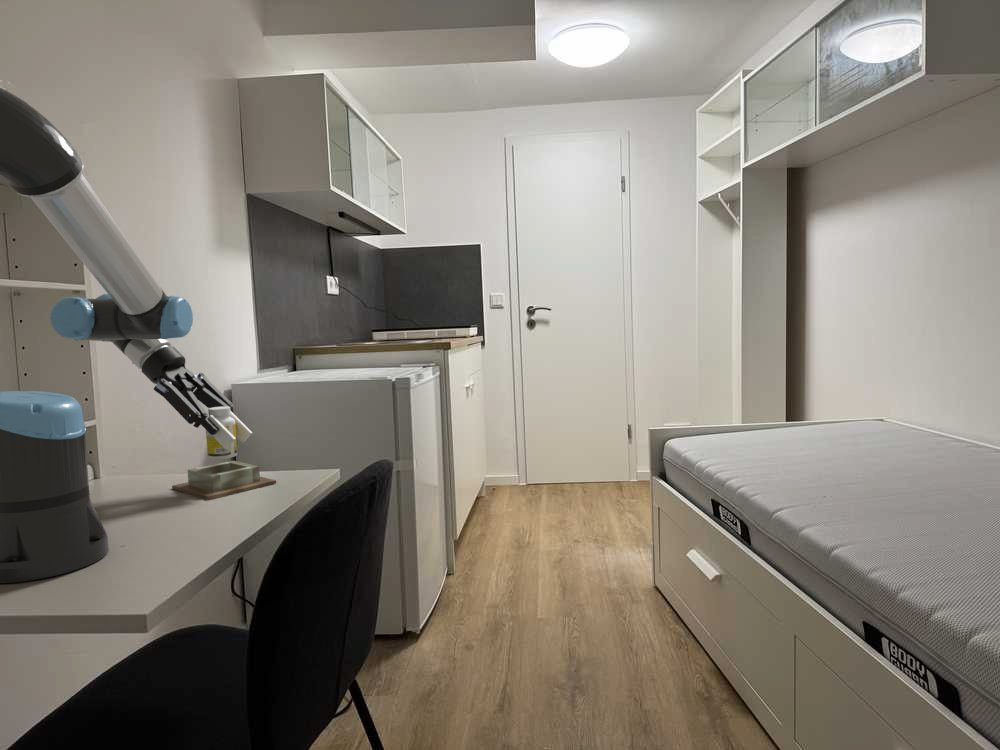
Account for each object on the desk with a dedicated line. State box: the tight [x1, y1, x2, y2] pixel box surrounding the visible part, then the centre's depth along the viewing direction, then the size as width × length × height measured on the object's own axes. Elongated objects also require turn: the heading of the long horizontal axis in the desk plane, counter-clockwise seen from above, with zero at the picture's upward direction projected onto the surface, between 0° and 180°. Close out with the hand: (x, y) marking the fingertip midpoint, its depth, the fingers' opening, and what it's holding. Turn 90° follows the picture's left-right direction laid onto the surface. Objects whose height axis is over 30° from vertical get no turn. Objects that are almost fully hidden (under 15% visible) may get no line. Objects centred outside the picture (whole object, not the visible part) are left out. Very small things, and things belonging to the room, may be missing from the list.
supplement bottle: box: [205, 406, 238, 461], centre depth 129 cm, size 5×5×10 cm
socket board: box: [171, 460, 277, 501], centre depth 129 cm, size 14×14×4 cm
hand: (239, 440), depth 128 cm, fingers closed on supplement bottle, 5 cm apart
